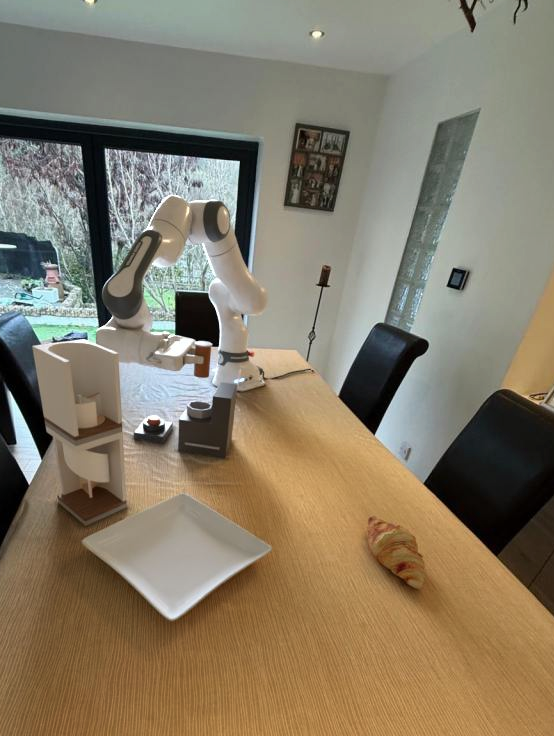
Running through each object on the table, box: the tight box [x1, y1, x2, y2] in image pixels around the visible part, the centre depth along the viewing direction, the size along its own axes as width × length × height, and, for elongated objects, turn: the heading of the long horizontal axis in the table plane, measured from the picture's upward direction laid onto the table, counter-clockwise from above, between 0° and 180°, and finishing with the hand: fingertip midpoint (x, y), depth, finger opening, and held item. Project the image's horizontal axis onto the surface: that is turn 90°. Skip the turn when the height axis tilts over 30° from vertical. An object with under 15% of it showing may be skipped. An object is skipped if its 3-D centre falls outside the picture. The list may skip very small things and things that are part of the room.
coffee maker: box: [177, 382, 238, 459], centre depth 120 cm, size 12×14×18 cm
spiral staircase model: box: [31, 338, 128, 527], centre depth 86 cm, size 11×11×35 cm
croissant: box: [366, 515, 426, 590], centre depth 88 cm, size 21×10×8 cm, turn 11°
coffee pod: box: [193, 340, 213, 379], centre depth 111 cm, size 5×5×8 cm
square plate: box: [81, 492, 273, 622], centre depth 82 cm, size 27×27×4 cm
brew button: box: [147, 414, 161, 425], centre depth 126 cm, size 4×4×2 cm
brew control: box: [133, 417, 174, 444], centre depth 127 cm, size 11×9×4 cm
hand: (205, 357), depth 111 cm, fingers closed on coffee pod, 4 cm apart
